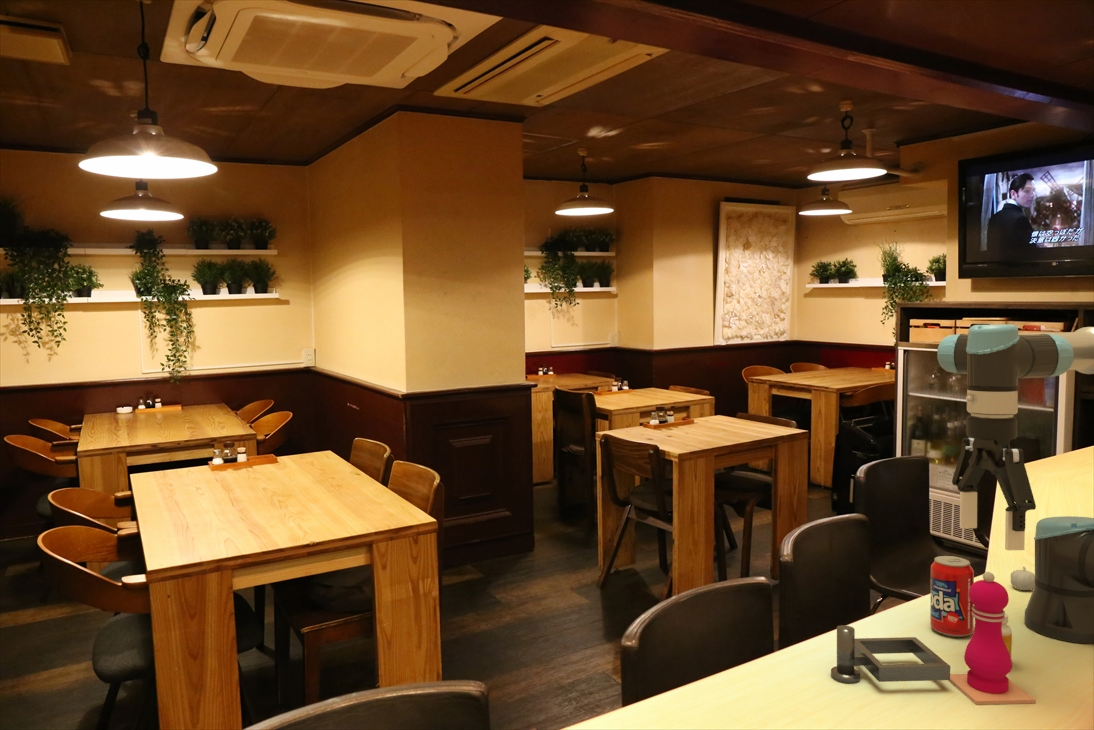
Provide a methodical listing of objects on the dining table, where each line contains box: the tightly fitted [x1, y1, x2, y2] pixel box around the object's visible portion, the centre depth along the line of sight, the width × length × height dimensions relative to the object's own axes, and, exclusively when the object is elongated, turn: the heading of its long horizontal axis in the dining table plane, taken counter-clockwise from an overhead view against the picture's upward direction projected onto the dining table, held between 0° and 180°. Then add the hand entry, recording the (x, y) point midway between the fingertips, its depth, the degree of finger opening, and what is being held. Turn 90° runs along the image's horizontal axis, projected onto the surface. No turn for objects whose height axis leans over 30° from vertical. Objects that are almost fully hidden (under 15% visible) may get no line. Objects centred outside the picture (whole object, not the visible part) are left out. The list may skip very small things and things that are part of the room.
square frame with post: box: [830, 624, 951, 685], centre depth 140 cm, size 18×12×9 cm
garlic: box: [1010, 566, 1035, 591], centre depth 184 cm, size 6×5×5 cm
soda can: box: [929, 555, 975, 638], centre depth 159 cm, size 8×8×15 cm
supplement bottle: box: [1002, 612, 1013, 657], centre depth 144 cm, size 5×5×10 cm
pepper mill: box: [963, 571, 1013, 694], centre depth 134 cm, size 7×7×20 cm
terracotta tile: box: [947, 673, 1037, 706], centre depth 134 cm, size 10×10×1 cm
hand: (990, 538), depth 133 cm, fingers open, 13 cm apart
